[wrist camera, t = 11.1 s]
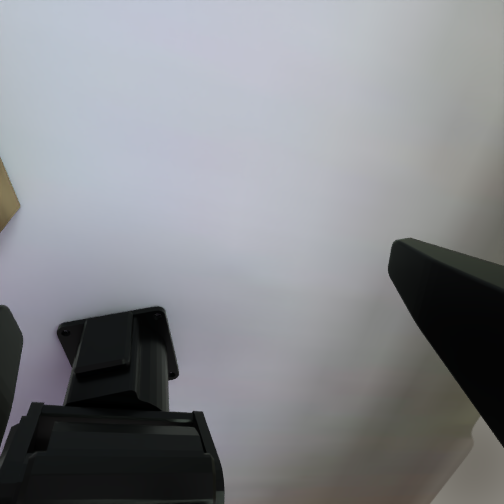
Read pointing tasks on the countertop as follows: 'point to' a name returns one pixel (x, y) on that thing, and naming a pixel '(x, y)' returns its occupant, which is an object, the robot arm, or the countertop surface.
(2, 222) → the walnut stand
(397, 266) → the robot arm
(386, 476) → the countertop surface
